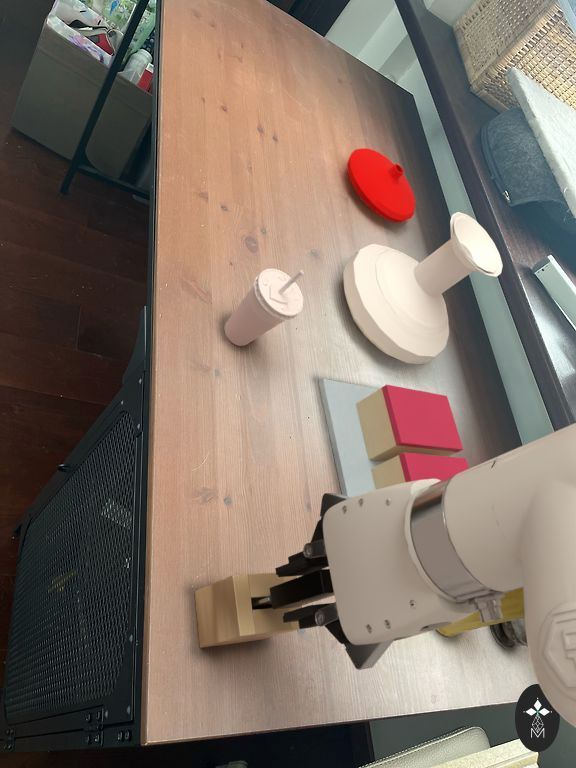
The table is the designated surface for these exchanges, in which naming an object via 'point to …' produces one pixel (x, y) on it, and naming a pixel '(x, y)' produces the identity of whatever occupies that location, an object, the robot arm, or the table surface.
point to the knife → (298, 591)
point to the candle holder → (414, 290)
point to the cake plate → (348, 436)
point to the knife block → (240, 610)
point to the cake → (407, 423)
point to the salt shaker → (510, 633)
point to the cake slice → (416, 469)
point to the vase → (510, 611)
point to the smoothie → (265, 306)
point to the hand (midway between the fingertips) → (294, 593)
